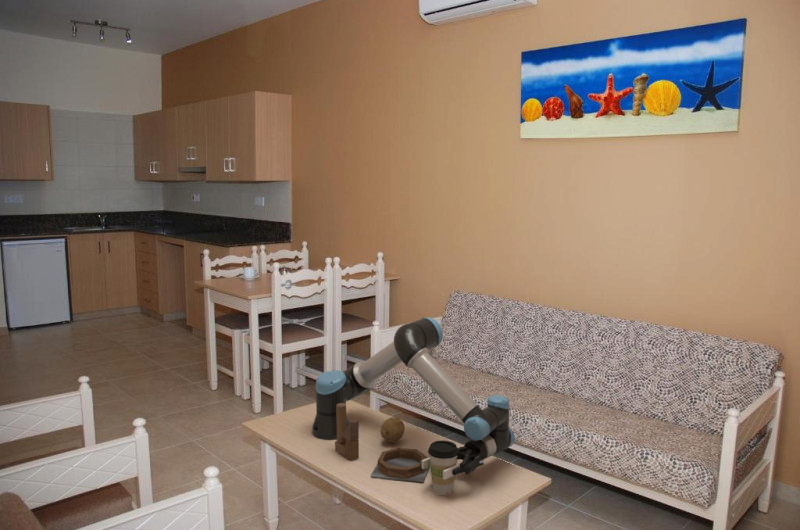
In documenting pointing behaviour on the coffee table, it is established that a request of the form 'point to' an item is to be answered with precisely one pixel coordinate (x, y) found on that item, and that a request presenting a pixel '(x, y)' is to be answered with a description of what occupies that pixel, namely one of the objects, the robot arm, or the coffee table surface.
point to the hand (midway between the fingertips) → (433, 469)
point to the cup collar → (401, 465)
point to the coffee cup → (442, 465)
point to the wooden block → (346, 435)
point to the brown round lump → (392, 429)
